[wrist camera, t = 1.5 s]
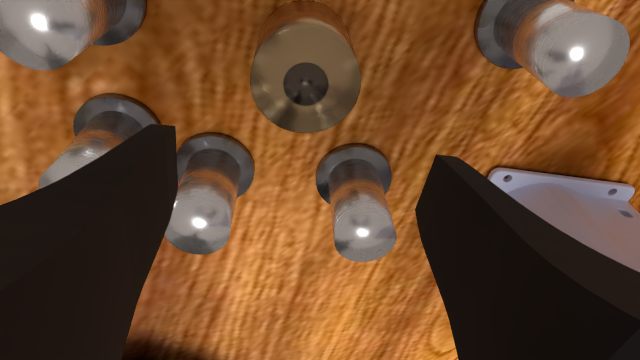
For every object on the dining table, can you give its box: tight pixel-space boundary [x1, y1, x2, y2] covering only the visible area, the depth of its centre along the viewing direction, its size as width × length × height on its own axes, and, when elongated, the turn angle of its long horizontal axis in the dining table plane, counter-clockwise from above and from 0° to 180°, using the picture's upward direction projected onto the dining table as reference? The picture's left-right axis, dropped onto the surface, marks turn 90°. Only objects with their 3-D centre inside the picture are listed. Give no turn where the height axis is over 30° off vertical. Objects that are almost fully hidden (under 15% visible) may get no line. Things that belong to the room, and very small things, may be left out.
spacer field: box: [0, 0, 630, 262], centre depth 18 cm, size 24×20×6 cm
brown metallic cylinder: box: [250, 0, 361, 133], centre depth 18 cm, size 4×4×5 cm
